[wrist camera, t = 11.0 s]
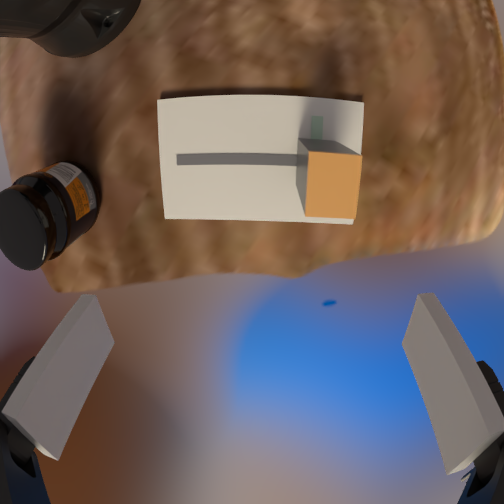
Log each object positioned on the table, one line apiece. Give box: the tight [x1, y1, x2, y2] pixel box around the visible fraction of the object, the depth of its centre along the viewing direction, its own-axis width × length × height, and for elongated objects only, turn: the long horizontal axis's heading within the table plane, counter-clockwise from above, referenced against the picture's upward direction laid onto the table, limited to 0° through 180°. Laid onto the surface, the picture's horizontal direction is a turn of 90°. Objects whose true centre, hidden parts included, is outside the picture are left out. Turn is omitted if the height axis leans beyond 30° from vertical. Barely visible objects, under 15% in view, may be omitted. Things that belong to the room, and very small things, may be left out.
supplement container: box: [0, 161, 100, 271], centre depth 30 cm, size 10×10×12 cm
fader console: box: [157, 95, 364, 224], centre depth 32 cm, size 14×22×1 cm, turn 90°
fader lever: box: [296, 138, 362, 219], centre depth 26 cm, size 5×4×10 cm
